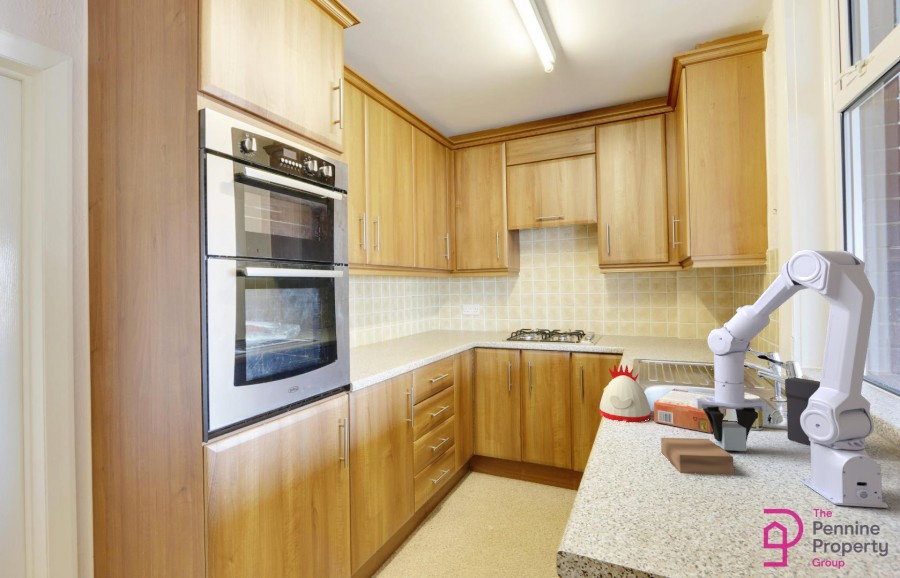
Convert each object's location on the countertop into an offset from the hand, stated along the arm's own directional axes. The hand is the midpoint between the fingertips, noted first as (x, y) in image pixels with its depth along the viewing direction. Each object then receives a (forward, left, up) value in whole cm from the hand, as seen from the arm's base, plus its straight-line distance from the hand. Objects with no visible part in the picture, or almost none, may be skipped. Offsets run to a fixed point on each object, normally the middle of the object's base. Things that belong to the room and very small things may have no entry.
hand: (730, 440), depth 95 cm
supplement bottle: (+17, -13, -2) cm, 22 cm away
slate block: (0, 0, -1) cm, 1 cm away
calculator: (+5, -21, -2) cm, 22 cm away
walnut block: (-9, +11, -3) cm, 14 cm away
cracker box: (+14, +6, +1) cm, 15 cm away
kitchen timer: (+25, +17, -2) cm, 30 cm away
